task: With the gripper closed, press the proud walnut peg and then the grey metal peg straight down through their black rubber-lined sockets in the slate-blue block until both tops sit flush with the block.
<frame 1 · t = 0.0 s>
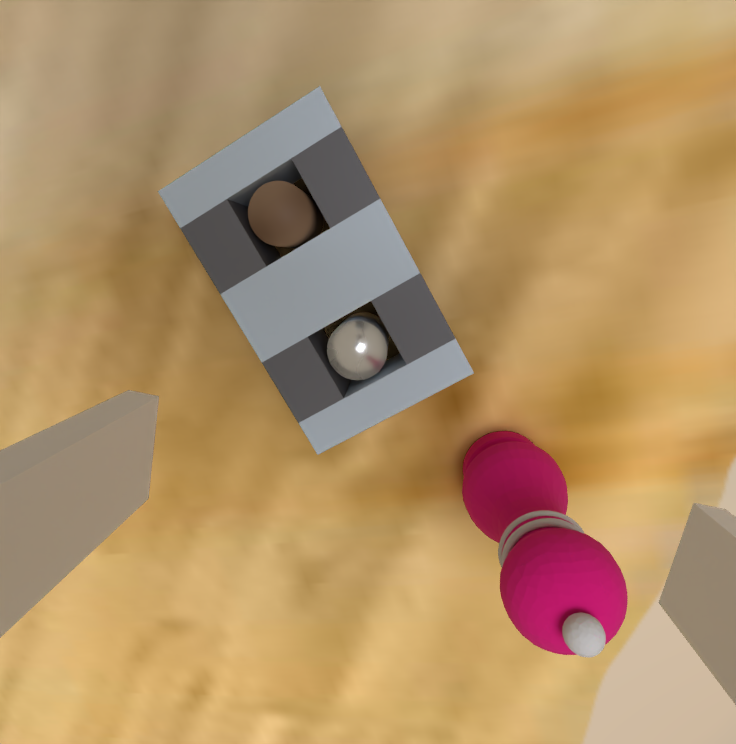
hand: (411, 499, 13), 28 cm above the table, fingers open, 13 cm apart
pepper mill: (501, 466, 42), on the table
walnut peg: (288, 217, 36), point 3 cm above the table, slide at -0.2 cm
socket block: (330, 280, 39), on the table
grey metal peg: (360, 343, 37), point 3 cm above the table, slide at -0.1 cm
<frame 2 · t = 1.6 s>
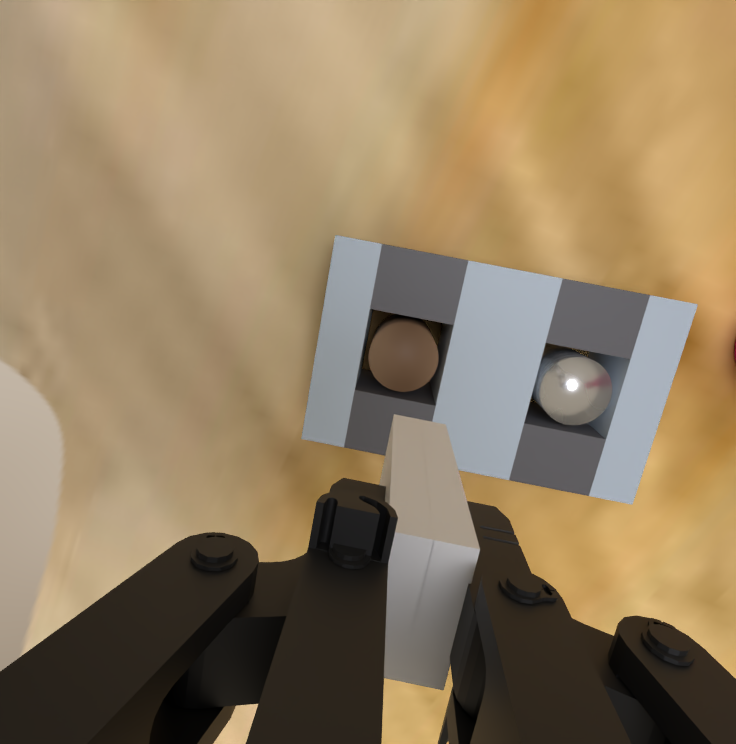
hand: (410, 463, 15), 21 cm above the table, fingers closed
walnut peg: (403, 349, 33), point 3 cm above the table, slide at -0.1 cm
socket block: (474, 355, 36), on the table
grey metal peg: (560, 380, 32), point 3 cm above the table, slide at -0.1 cm
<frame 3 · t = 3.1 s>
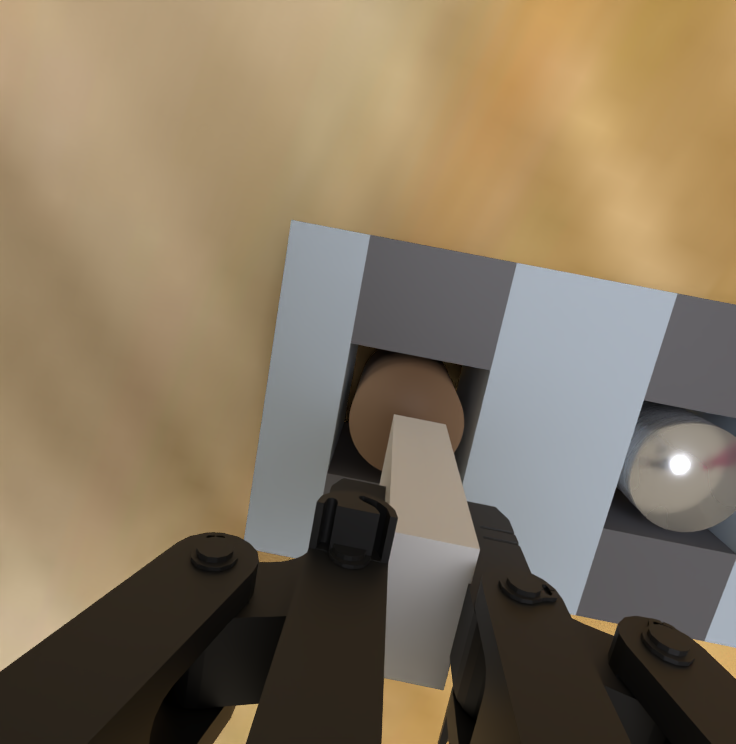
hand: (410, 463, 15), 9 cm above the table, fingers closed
walnut peg: (405, 400, 21), point 3 cm above the table, slide at -0.1 cm
socket block: (511, 404, 24), on the table
grey metal peg: (651, 449, 21), point 3 cm above the table, slide at -0.1 cm
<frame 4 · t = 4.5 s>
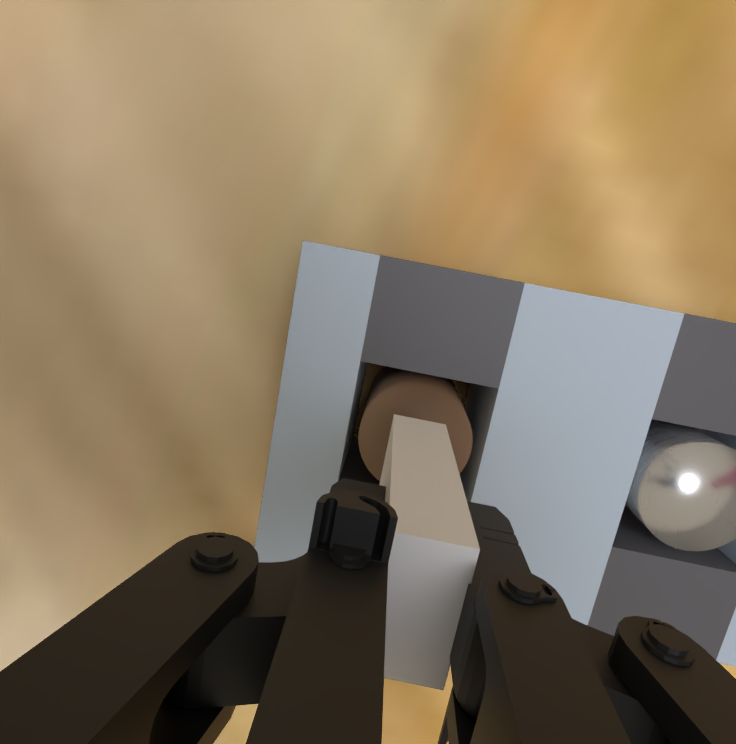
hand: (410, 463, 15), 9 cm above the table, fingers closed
walnut peg: (413, 417, 21), point 3 cm above the table, slide at -0.1 cm
socket block: (519, 420, 24), on the table
grey metal peg: (659, 467, 21), point 3 cm above the table, slide at -0.1 cm
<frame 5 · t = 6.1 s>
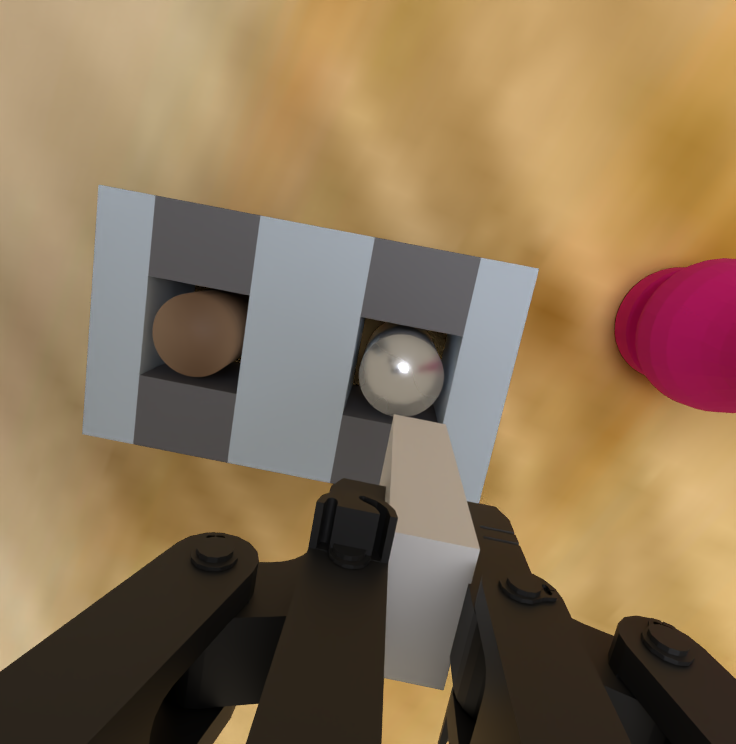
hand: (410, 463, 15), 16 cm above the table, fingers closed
pepper mill: (668, 323, 29), on the table
walnut peg: (214, 327, 27), point 3 cm above the table, slide at -0.1 cm
socket block: (316, 337, 30), on the table
grey metal peg: (400, 364, 27), point 3 cm above the table, slide at -0.1 cm
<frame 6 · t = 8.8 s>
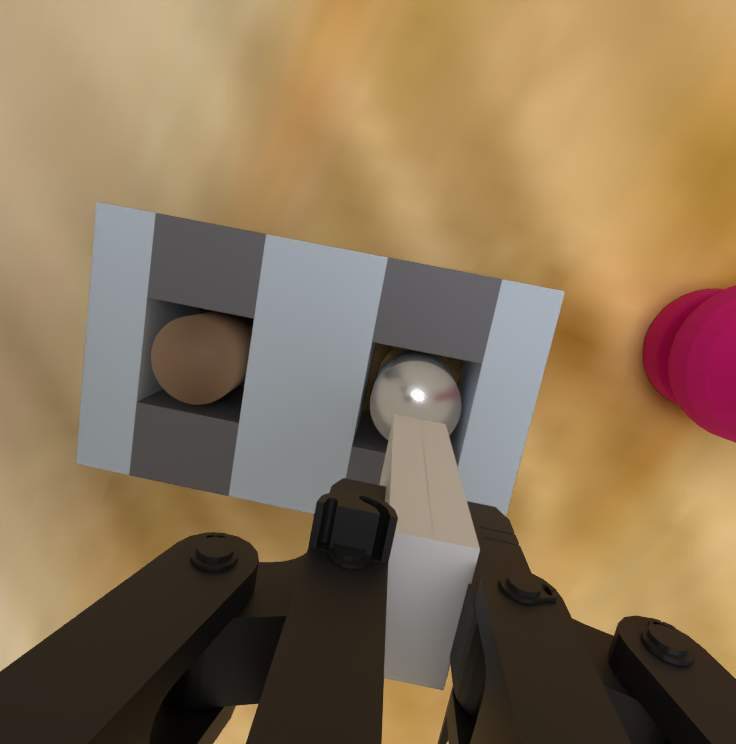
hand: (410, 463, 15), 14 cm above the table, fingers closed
pepper mill: (701, 348, 27), on the table
walnut peg: (217, 351, 26), point 3 cm above the table, slide at -0.1 cm
socket block: (324, 360, 29), on the table
grey metal peg: (414, 390, 26), point 3 cm above the table, slide at -0.1 cm
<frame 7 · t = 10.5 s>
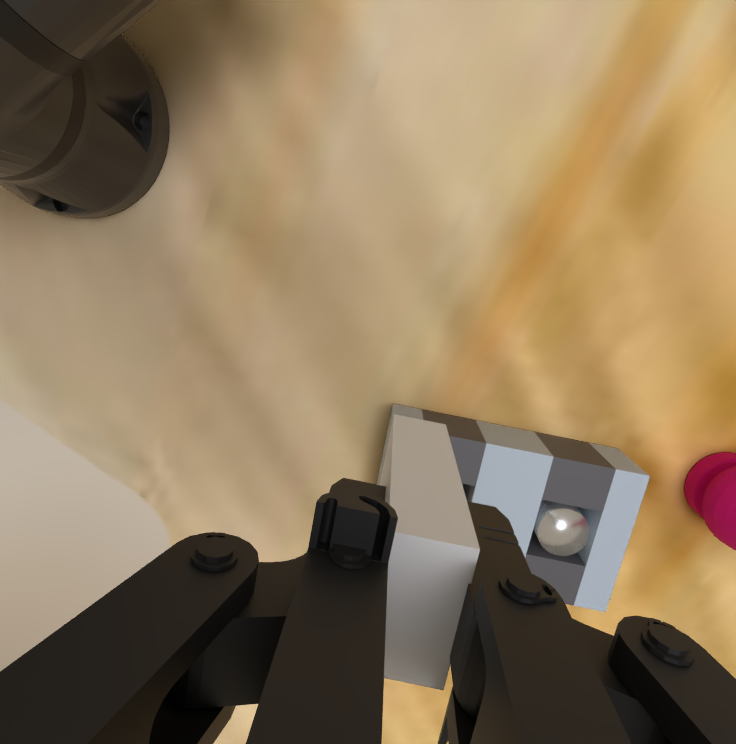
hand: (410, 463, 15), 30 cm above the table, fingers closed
pepper mill: (719, 484, 46), on the table
socket block: (488, 488, 47), on the table
grey metal peg: (553, 515, 44), point 3 cm above the table, slide at -0.1 cm
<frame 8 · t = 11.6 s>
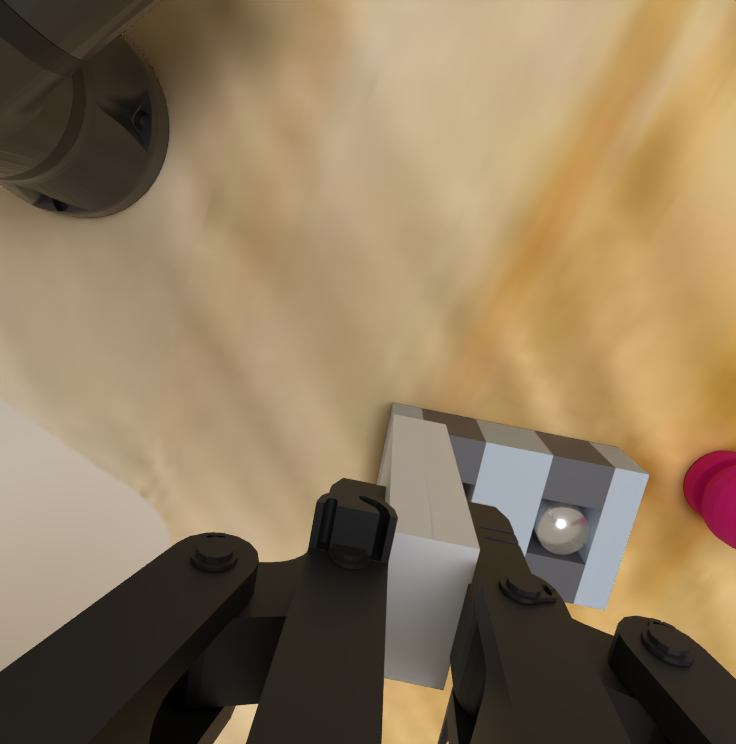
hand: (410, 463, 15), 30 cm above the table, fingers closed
pepper mill: (718, 482, 46), on the table
socket block: (488, 487, 47), on the table
grey metal peg: (553, 514, 44), point 3 cm above the table, slide at -0.1 cm
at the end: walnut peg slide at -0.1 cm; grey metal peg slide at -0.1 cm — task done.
